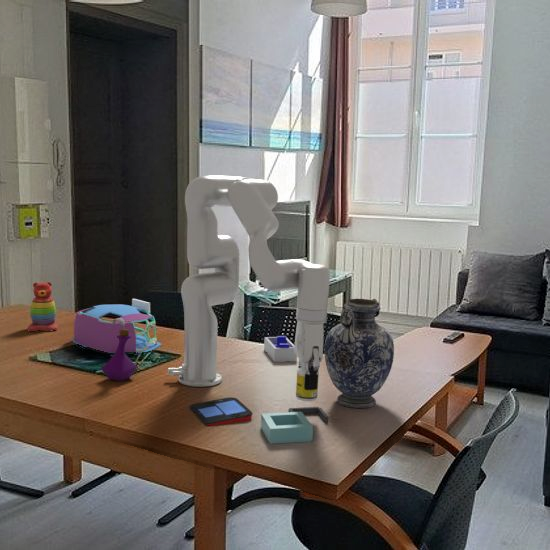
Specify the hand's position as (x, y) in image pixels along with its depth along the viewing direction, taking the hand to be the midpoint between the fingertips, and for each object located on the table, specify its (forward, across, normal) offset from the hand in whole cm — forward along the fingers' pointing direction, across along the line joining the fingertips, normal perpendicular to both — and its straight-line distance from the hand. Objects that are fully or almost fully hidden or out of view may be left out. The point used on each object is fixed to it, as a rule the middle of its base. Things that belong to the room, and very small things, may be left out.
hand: (307, 384), depth 169 cm
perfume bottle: (+11, -39, -45) cm, 61 cm away
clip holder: (+10, -59, +8) cm, 60 cm away
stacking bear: (+13, -107, -73) cm, 130 cm away
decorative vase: (+9, -10, +17) cm, 22 cm away
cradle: (+9, +1, +1) cm, 9 cm away
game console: (+10, -6, -20) cm, 24 cm away
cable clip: (+11, -58, +7) cm, 59 cm away
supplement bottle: (+4, 0, 0) cm, 4 cm away
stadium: (+12, -82, -46) cm, 95 cm away
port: (+9, +10, -7) cm, 15 cm away
